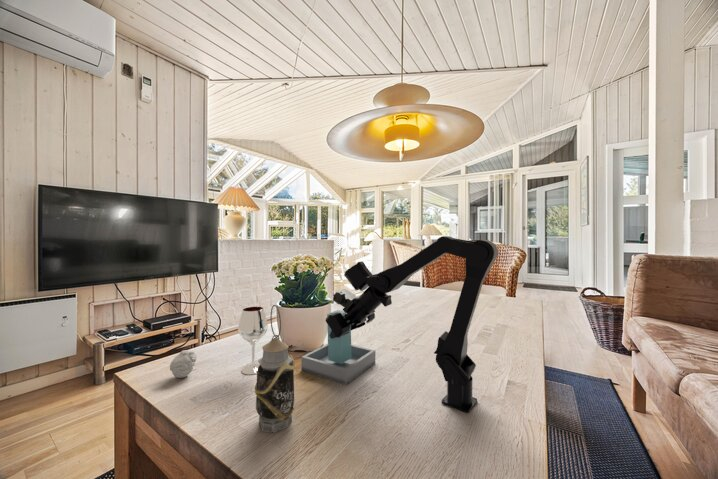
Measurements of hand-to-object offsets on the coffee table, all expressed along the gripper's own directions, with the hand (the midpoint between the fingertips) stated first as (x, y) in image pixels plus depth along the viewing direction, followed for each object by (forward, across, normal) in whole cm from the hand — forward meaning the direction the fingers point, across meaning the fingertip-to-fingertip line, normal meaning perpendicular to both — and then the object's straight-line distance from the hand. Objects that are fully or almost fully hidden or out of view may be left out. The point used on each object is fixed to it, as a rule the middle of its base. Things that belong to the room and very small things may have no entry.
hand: (336, 334), depth 90 cm
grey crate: (+6, 0, +8) cm, 10 cm away
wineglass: (+20, +15, -7) cm, 26 cm away
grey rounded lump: (+29, +29, -16) cm, 44 cm away
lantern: (+3, +29, +11) cm, 31 cm away
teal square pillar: (+4, 0, +6) cm, 7 cm away
